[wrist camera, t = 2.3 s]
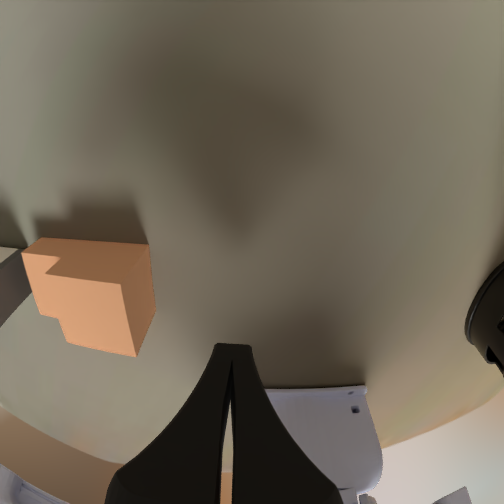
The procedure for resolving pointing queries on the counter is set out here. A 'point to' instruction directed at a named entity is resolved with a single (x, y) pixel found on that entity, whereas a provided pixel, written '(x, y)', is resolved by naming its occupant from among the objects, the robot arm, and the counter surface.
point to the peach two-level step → (94, 290)
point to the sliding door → (12, 282)
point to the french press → (488, 319)
